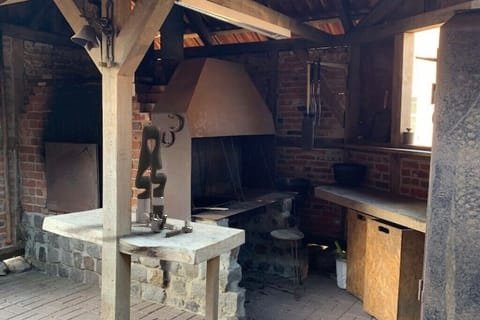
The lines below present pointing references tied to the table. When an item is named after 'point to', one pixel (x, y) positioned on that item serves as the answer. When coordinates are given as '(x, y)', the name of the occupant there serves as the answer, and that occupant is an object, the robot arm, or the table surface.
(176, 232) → the ratchet
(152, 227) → the socket
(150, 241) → the table surface
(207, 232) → the table surface
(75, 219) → the table surface
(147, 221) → the wrench
